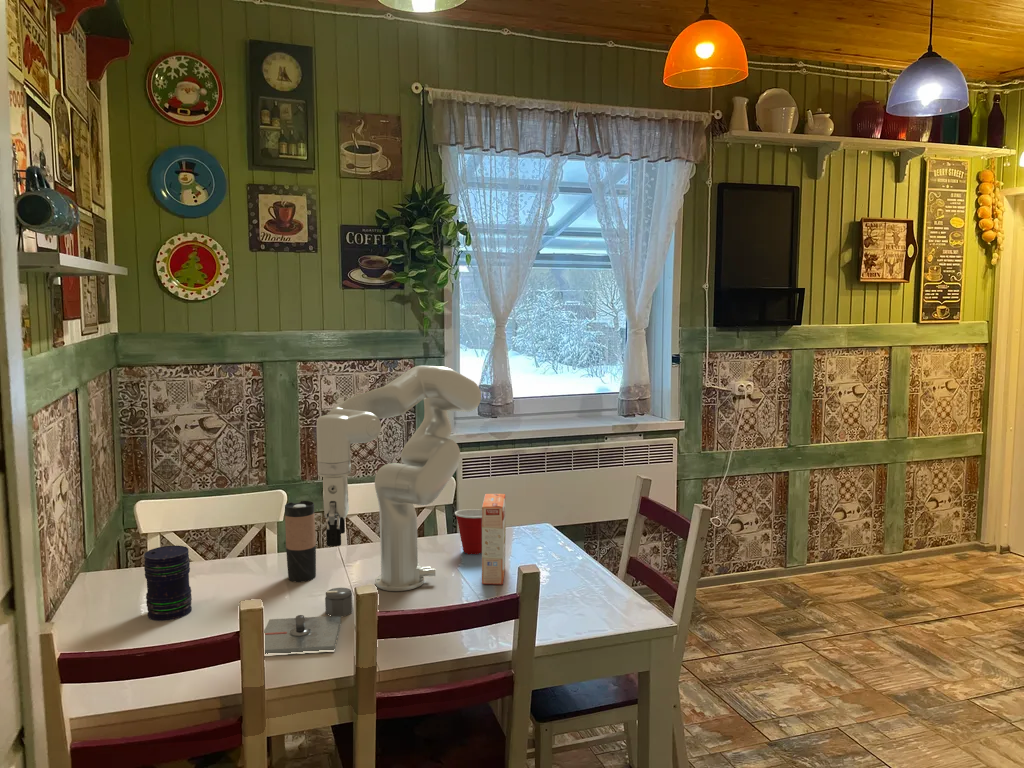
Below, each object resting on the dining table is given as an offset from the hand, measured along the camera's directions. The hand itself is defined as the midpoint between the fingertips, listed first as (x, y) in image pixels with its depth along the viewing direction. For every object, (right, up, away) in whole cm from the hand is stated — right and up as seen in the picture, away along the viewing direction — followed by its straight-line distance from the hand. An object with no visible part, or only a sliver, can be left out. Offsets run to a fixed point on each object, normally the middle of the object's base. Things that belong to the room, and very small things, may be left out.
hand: (336, 539), depth 187 cm
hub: (-5, -19, -12) cm, 24 cm away
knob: (0, -18, +2) cm, 18 cm away
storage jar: (-40, -18, +2) cm, 44 cm away
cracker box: (+37, -15, +26) cm, 47 cm away
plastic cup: (+30, -13, +46) cm, 56 cm away
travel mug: (-15, -15, +25) cm, 33 cm away
